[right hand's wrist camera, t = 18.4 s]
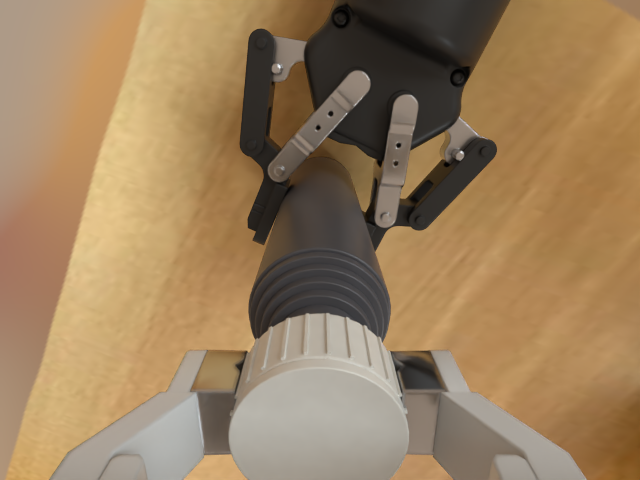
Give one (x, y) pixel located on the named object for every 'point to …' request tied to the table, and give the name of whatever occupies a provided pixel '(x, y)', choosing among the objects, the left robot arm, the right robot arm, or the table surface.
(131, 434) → the right robot arm
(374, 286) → the bottle
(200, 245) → the table surface
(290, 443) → the cap
